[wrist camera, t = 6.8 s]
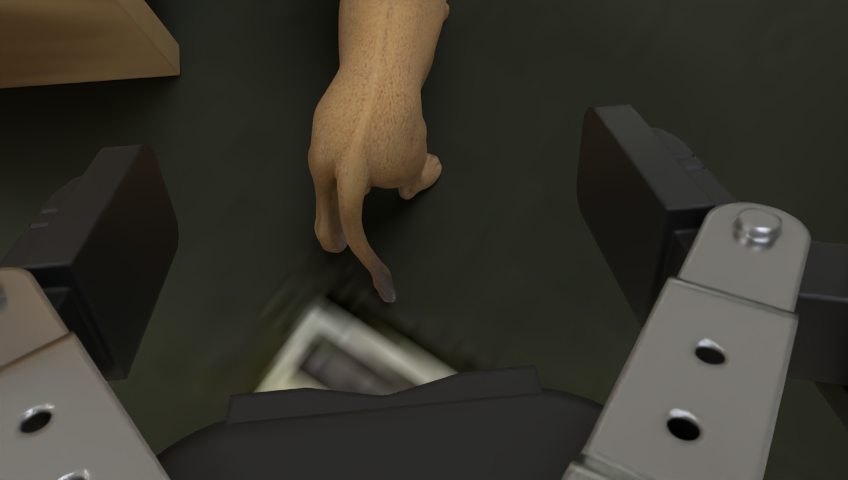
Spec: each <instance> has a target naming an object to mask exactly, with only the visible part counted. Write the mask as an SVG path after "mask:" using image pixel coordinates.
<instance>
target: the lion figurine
mask: <svg viewBox="0 0 848 480" xmlns="http://www.w3.org/2000/svg"><path fill="white" fill-rule="evenodd" d="M448 14H449V6H448V5H447V4H446V0H340V7H339V61H340V68H339V70H338V72H337V74H336V76H335V78H334V79H333V81H332V82H331V84H330V86H329V87H328V89H327V90H326V92H325V94H324V95H323V97H322V98H321V100H320V102H319V103H318V105H317V108H316V110H315V113H314V117H313V125H312V137H311V146H310V148H309V151H308V164H309V169H310V172H311V175H312V178H313V181H314V186H315V194H316V221H315V225H314V228H315V233H316V236H317V238H318V239H319V242H320V244H321V246H322V248H323V249H324V250H326V251H329V252H335V253H338V252H341V251H343V250H344V249H345V248H346V246H347V244H348V245H349V247H350V248H351V250H352V251H353V253H354V254H355V255H356V256H357V257H358V258H359V260H360V261H361V262H362V263H363V265H364V266H365V267H366V268H367V269H368V270H369V271H370V273H371V275H372V277H373V284H374V287H375V288H376V289H377V290H378V292H379V295H380V297H381V298H382V299H383V300H384V301H385V302H387V303H390V302H394V301H395V300H396V293H395V289H394V286H393V282H392V276H391V273H390V270H389V269H388V268H387V267H386V266H385V265H384V264H383V263H382V262H381V261H380V259H379V258H378V257H377V255H376V254H375V253H374V251H373V250H372V249H371V247H370V246H369V244H368V242H367V239H366V236H365V234H364V230H363V226H362V205H363V199H364V195H366V194H368V192H369V191H370V189H371V187H373V186H376V187H380V188H386V189H389V188H396V187H398V189H399V194H400V196H401V197H402V198H404V199H410V198H412V197H413V196H414V195H415V194H417V193H418V192H419V191H421V190H424V189H426V188H428V187H430V186H431V185H432V184H434V182H435V181H436V180H437V179H438V177H439V175H440V173H441V169H442V167H441V164H440V162H439V159H438V157H437V156H435V155H432V154H430V153H427V143H426V135H427V130H426V125H425V122H424V119H423V117H422V105H421V92H420V91H421V89H422V86H423V84H424V82H425V80H426V78H427V76H428V73H429V71H430V69H431V66H432V62H433V59H434V53H435V49H436V45H437V41H438V38H439V35H440V32H441V28H442V25H443V22H444V21H445V20H446V18H447V17H448ZM339 211H340V212H339Z"/></svg>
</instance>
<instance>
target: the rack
mask: <svg viewBox="0 0 848 480" xmlns="http://www.w3.org/2000/svg"><path fill="white" fill-rule="evenodd" d="M173 75H180V61H179V45H178V43H177V42H176V41H175V39H174V38H173V37H172V36H171V34H170V33H169V32H168V30H167V29H166V28H165V26H164V25H163V24H162V23H161V21H160V20H159V19H158V17H157V16H156V15H155V14H154V12H153V11H152V10H151V8H150V7H149V6H148V4H147V3H146V2H145V1H144V0H0V88H11V87H25V86H38V85H52V84H65V83H79V82H92V81H106V80H119V79H132V78H146V77H159V76H173Z"/></svg>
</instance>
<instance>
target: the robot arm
mask: <svg viewBox="0 0 848 480" xmlns="http://www.w3.org/2000/svg"><path fill="white" fill-rule="evenodd" d="M577 199H578V204H579V208H580V211H581V213H582V215H583V217H584V219H585V221H586V223H587V225H588V227H589V229H590V231H591V233H592V235H593V236H594V238H595V240H596V242H597V244H598V246H599V248H600V250H601V252H602V254H603V256H604V257H605V259H606V261H607V263H608V265H609V267H610V269H611V271H612V273H613V275H614V277H615V278H616V280H617V282H618V284H619V286H620V288H621V290H622V292H623V294H624V296H625V297H626V299H627V301H628V303H629V305H630V307H631V309H632V311H633V313H634V315H635V317H636V318H637V320H638V322H639V324H640V326H641V327H643V329H642V331H641V333H640V335H639V337H638V339H637V341H636V343H635V345H634V347H633V349H632V351H631V353H630V355H629V357H628V360H627V362H626V364H625V366H624V368H623V370H622V372H621V374H620V376H619V378H618V380H617V382H616V384H615V386H614V388H613V390H612V392H611V394H610V396H609V398H608V400H607V402H606V404H605V406H603V405H601V404H599V403H596V402H594V401H592V400H589V399H587V398H584V397H581V396H577V395H574V394H571V393H567V392H563V391H558V390H553V389H546V388H542V387H541V384H540V381H539V377H538V374H537V371H536V367H535V365H532V366H522V367H511V368H501V369H491V370H481V371H471V372H461V373H458V374H455V375H451V376H448V377H445V378H442V379H439V380H435V381H432V382H429V383H426V384H423V385H419V386H416V387H413V388H410V389H407V390H404V391H400V392H397V393H394V394H390V395H383V396H380V395H369V394H360V393H351V392H342V391H333V390H323V389H314V388H298V389H288V390H277V391H267V392H257V393H247V394H237V395H231V396H230V401H229V406H228V411H227V415H226V420H223V421H220V422H217V423H215V424H212V425H210V426H207V427H205V428H203V429H200V430H198V431H196V432H194V433H192V434H190V435H188V436H186V437H184V438H183V439H181V440H179V441H178V442H176V443H174V444H173V445H171V446H170V447H168V448H167V449H165V450H164V451H162V452H161V453H160V454H158V455H157V456H156V457H155V455H154V454H153V452H152V450H151V449H150V447H149V446H148V444H147V443H146V441H145V440H144V438H143V437H142V435H141V434H140V432H139V431H138V429H137V428H136V426H135V424H134V423H133V421H132V420H131V418H130V417H129V415H128V414H127V412H126V411H125V409H124V408H123V406H122V405H121V403H120V402H119V400H118V398H117V397H116V395H115V394H114V392H113V391H112V389H111V388H110V386H109V385H108V383H107V382H106V381H110V380H120V379H127V377H128V374H129V372H130V369H131V367H132V364H133V362H134V359H135V356H136V354H137V351H138V349H139V346H140V343H141V341H142V338H143V336H144V333H145V331H146V328H147V325H148V323H149V320H150V318H151V315H152V312H153V310H154V307H155V305H156V302H157V300H158V297H159V294H160V292H161V289H162V287H163V284H164V282H165V279H166V276H167V274H168V271H169V269H170V266H171V263H172V261H173V258H174V256H175V253H176V250H177V247H178V237H179V235H178V224H177V219H176V216H175V213H174V210H173V207H172V204H171V201H170V198H169V195H168V192H167V189H166V186H165V183H164V180H163V177H162V174H161V171H160V168H159V165H158V162H157V159H156V157H155V154H154V152H153V151H152V149H151V148H150V147H149V146H148V145H146V144H144V145H132V146H120V147H108V148H102V149H101V150H100V151H99V153H98V154H97V155H96V157H95V158H94V160H93V161H92V162H91V164H90V165H89V167H88V168H87V170H86V171H85V172H84V174H83V175H82V176H81V177H75V178H74V179H72V180H71V181H70V182H68V183H67V184H65V185H64V186H62V187H61V188H60V189H58V190H57V191H55V192H54V193H53V194H52V195H51V196H50V198H49V199H48V200H47V202H46V203H45V204H44V206H43V207H42V209H41V210H40V214H37V215H36V217H35V218H34V219H33V221H32V222H31V223H30V225H29V227H30V229H26V230H25V231H24V233H23V234H22V235H21V237H20V238H19V239H18V241H17V242H16V243H15V245H14V246H13V247H12V249H11V250H10V251H9V253H8V254H7V256H6V257H5V258H4V260H3V261H2V262H1V264H0V480H763V476H764V472H765V467H766V463H767V458H768V454H769V450H770V445H771V441H772V436H773V432H774V427H775V423H776V419H777V414H778V410H779V405H780V401H781V396H782V392H783V388H784V383H785V379H786V377H791V378H797V379H804V380H810V381H814V383H815V384H816V386H817V387H818V389H819V390H820V392H821V393H822V395H823V396H824V398H825V399H826V400H827V402H828V403H829V405H830V406H831V408H832V409H833V411H834V412H835V414H836V415H837V417H838V418H839V420H840V421H841V422H842V424H843V425H844V427H845V428H846V430H847V431H848V244H842V243H832V242H823V241H814V240H811V236H810V233H809V231H808V230H807V228H806V227H805V226H804V225H803V224H802V223H801V222H800V221H799V220H797V219H796V218H795V217H793V216H791V215H790V214H788V213H785V212H783V211H781V210H778V209H776V208H773V207H769V206H766V205H761V204H755V203H743V202H738V201H737V200H736V199H735V198H734V197H733V196H732V195H731V194H730V192H729V191H728V190H727V189H726V188H725V187H724V186H723V185H722V184H721V183H720V182H719V180H718V179H717V178H716V177H715V176H714V175H713V174H712V173H711V172H710V171H709V169H705V165H704V164H703V163H702V162H701V161H700V160H699V159H698V157H694V153H693V152H692V151H691V150H690V149H689V148H688V147H687V145H686V144H685V143H684V142H683V141H682V140H681V139H679V138H677V137H675V136H674V135H672V134H670V133H668V132H666V131H664V130H662V129H660V128H650V127H649V126H648V124H647V123H646V122H645V121H644V120H643V119H642V117H641V116H640V115H639V114H638V113H637V112H636V110H635V109H634V108H633V107H632V106H631V105H629V104H626V105H613V106H601V107H589V108H588V109H587V111H586V113H585V116H584V121H583V129H582V138H581V147H580V156H579V165H578V174H577Z"/></svg>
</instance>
